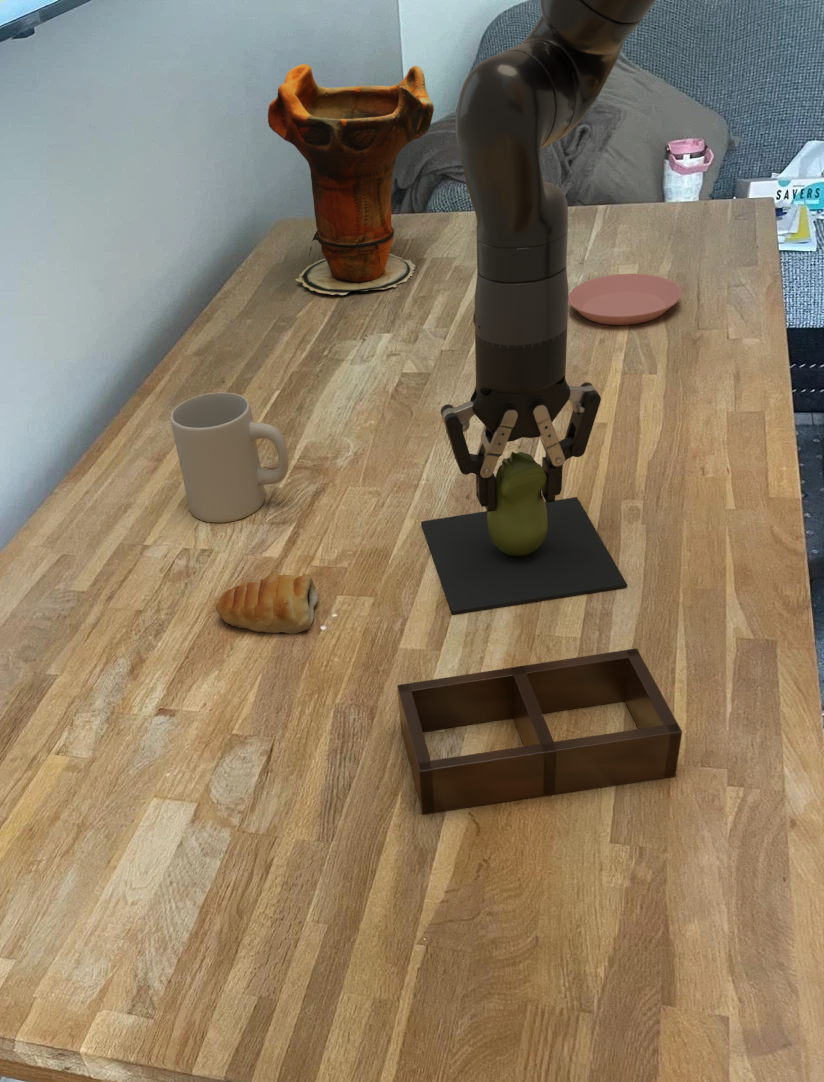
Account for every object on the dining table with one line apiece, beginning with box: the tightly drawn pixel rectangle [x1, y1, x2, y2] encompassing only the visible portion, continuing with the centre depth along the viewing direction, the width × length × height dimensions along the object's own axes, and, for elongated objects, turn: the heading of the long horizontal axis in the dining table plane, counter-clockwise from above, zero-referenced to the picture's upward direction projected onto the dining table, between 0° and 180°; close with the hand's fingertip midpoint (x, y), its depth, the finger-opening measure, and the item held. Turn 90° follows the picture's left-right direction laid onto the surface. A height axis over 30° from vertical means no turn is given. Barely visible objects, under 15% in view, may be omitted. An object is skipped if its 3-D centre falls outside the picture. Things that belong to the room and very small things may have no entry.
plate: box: [568, 273, 683, 326], centre depth 144 cm, size 14×14×2 cm
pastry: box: [215, 573, 319, 634], centre depth 102 cm, size 9×7×4 cm
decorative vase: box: [267, 63, 435, 296], centre depth 157 cm, size 21×23×28 cm
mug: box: [170, 391, 289, 524], centre depth 116 cm, size 12×8×11 cm
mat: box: [420, 496, 628, 615], centre depth 105 cm, size 16×16×1 cm
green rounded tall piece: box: [487, 451, 548, 556], centre depth 102 cm, size 6×5×10 cm
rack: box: [396, 648, 683, 815], centre depth 83 cm, size 19×10×4 cm, turn 95°
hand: (518, 501), depth 101 cm, fingers closed on green rounded tall piece, 5 cm apart
